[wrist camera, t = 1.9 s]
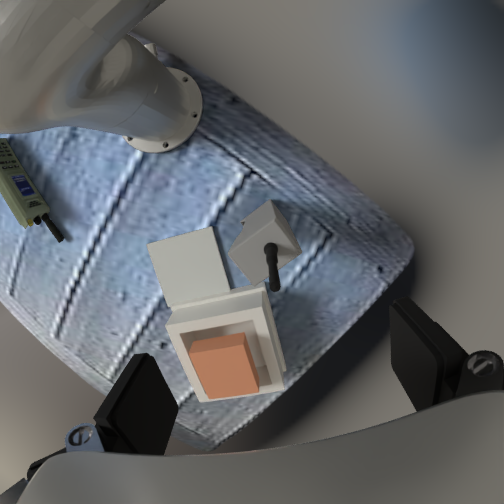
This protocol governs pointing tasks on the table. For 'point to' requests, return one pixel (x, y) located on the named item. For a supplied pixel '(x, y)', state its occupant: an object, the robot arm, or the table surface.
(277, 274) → the vintage mobile phone
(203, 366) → the button
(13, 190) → the handheld radio
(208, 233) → the light gray square panel
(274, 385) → the frame
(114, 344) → the table surface
